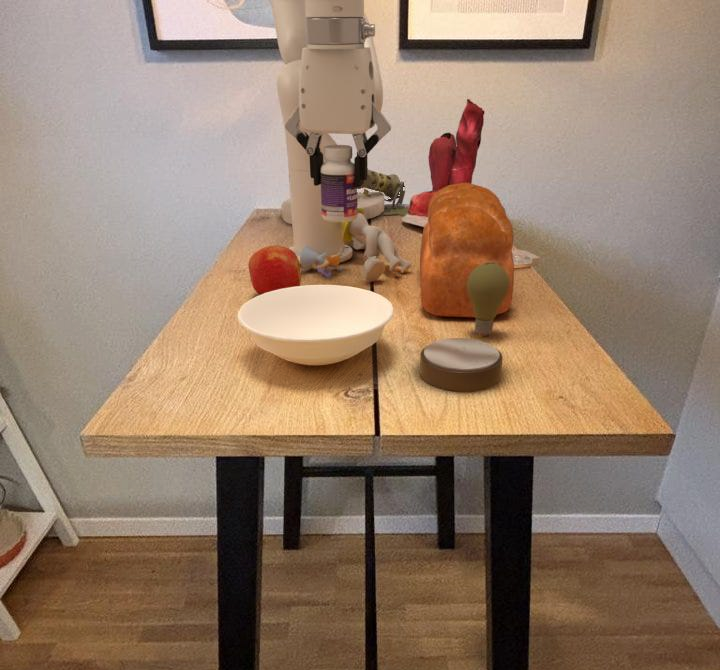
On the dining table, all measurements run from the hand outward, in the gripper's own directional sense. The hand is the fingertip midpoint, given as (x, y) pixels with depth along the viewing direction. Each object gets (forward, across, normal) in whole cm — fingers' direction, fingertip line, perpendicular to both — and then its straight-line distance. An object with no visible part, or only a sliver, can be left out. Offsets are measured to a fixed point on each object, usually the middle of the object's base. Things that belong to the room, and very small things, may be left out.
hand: (339, 183), depth 96 cm
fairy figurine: (+16, +15, -14) cm, 26 cm away
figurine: (+16, -6, -10) cm, 20 cm away
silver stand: (+16, -21, +25) cm, 37 cm away
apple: (+17, +10, +2) cm, 20 cm away
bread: (+17, -19, -6) cm, 26 cm away
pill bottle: (+5, 0, 0) cm, 5 cm away
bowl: (+17, -2, +23) cm, 29 cm away
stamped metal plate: (+19, -27, -25) cm, 42 cm away
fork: (+15, +6, -31) cm, 35 cm away
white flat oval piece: (+18, +16, -56) cm, 61 cm away
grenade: (+11, +10, -55) cm, 57 cm away
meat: (+21, -16, -48) cm, 55 cm away
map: (+19, -4, -61) cm, 64 cm away
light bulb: (+17, -23, +12) cm, 31 cm away
